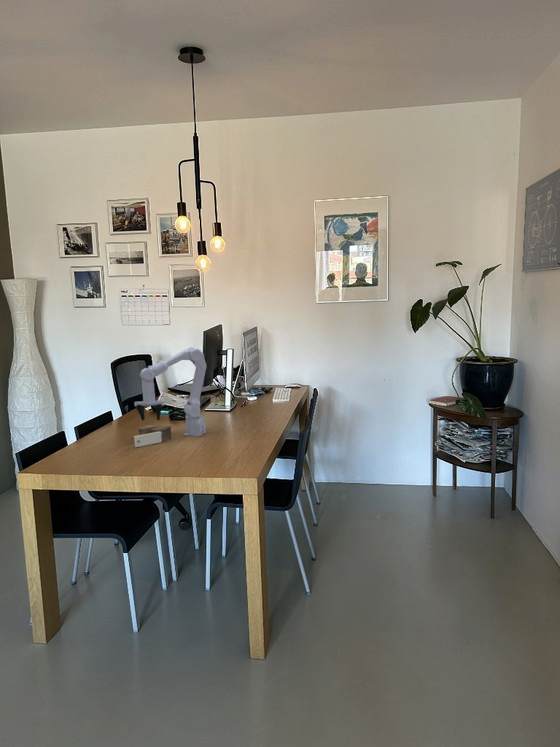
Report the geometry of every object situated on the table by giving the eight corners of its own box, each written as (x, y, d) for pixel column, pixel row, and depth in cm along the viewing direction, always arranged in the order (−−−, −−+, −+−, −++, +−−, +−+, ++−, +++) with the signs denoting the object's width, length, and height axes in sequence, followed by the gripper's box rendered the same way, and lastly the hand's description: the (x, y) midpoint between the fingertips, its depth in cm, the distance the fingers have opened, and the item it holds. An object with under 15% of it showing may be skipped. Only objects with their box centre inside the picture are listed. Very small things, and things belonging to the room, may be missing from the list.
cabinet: (172, 437, 261) (171, 426, 260) (164, 441, 255) (163, 429, 254) (147, 436, 266) (146, 424, 265) (139, 440, 260) (138, 428, 259)
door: (162, 441, 255) (162, 431, 254) (164, 442, 253) (163, 431, 252) (134, 447, 247) (134, 436, 246) (136, 447, 246) (135, 437, 245)
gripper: (165, 390, 259) (167, 417, 261) (137, 391, 260) (139, 418, 262) (161, 393, 252) (163, 421, 254) (132, 394, 253) (134, 421, 255)
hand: (150, 419), depth 257 cm, fingers open, 7 cm apart
